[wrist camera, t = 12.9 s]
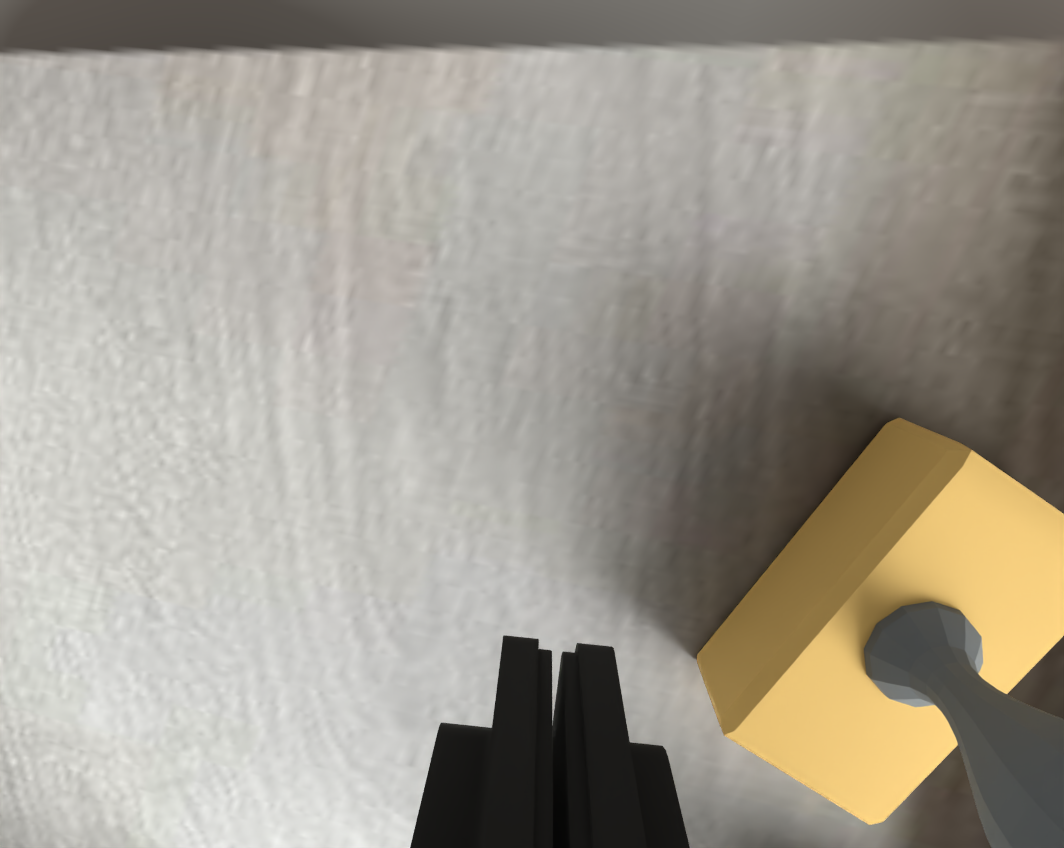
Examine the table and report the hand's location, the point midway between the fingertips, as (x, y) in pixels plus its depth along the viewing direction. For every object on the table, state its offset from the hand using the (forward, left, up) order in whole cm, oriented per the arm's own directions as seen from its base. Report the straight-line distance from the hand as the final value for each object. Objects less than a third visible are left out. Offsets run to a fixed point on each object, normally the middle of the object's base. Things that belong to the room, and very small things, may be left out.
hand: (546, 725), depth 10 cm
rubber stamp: (+2, +10, -11) cm, 15 cm away
